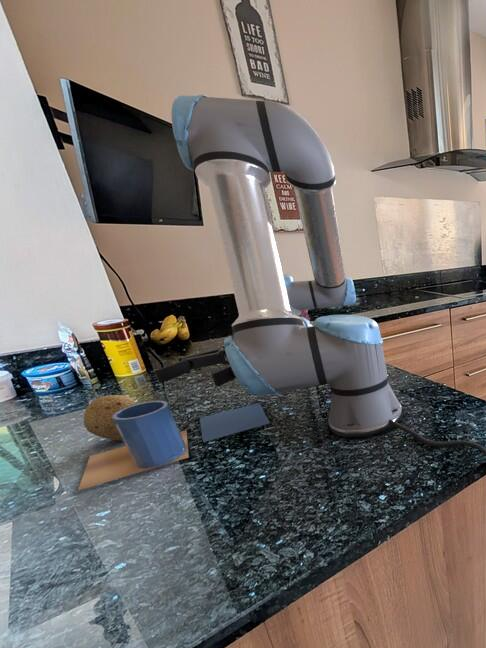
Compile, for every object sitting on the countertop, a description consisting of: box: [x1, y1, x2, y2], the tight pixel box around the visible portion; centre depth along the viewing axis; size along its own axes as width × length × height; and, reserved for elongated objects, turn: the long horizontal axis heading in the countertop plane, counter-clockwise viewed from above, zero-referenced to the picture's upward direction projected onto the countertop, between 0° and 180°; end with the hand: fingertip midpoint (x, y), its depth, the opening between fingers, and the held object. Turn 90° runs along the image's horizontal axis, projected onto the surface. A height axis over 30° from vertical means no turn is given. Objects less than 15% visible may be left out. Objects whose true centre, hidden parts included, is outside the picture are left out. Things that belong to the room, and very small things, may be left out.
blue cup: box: [112, 400, 186, 468], centre depth 73 cm, size 8×8×10 cm
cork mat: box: [77, 429, 190, 491], centre depth 75 cm, size 14×15×1 cm
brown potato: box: [83, 394, 138, 442], centre depth 80 cm, size 9×9×10 cm
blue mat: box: [199, 402, 270, 443], centre depth 88 cm, size 14×12×1 cm
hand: (186, 378), depth 79 cm, fingers open, 13 cm apart
